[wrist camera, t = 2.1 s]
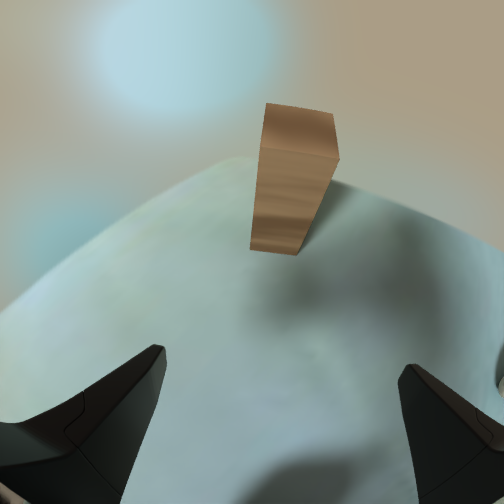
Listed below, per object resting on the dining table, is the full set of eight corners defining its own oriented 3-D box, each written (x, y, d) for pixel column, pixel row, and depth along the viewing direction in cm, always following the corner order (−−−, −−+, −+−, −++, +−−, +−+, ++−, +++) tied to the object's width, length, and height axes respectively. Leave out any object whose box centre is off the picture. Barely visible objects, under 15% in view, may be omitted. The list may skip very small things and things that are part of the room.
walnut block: (296, 255, 26) (339, 159, 14) (249, 249, 26) (260, 146, 14) (297, 216, 28) (332, 113, 16) (254, 210, 28) (266, 103, 16)
